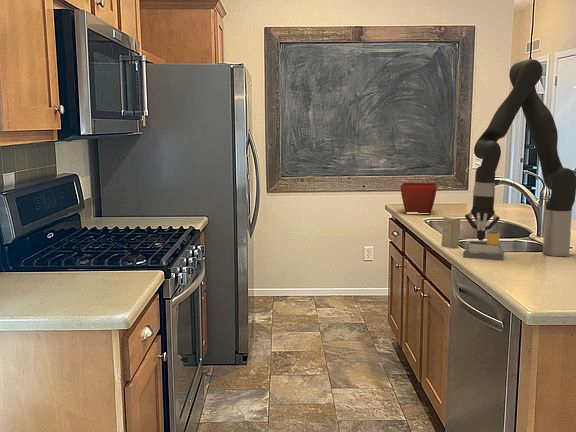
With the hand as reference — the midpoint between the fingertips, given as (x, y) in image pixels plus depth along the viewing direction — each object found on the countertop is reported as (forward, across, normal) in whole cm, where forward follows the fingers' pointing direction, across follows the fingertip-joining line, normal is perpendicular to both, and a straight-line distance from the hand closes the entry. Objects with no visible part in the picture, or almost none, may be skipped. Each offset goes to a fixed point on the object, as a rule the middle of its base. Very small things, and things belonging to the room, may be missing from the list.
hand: (480, 240), depth 227 cm
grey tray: (+6, -2, 0) cm, 6 cm away
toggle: (+4, -5, 0) cm, 6 cm away
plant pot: (+7, +44, -107) cm, 116 cm away
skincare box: (+7, +13, -15) cm, 21 cm away
